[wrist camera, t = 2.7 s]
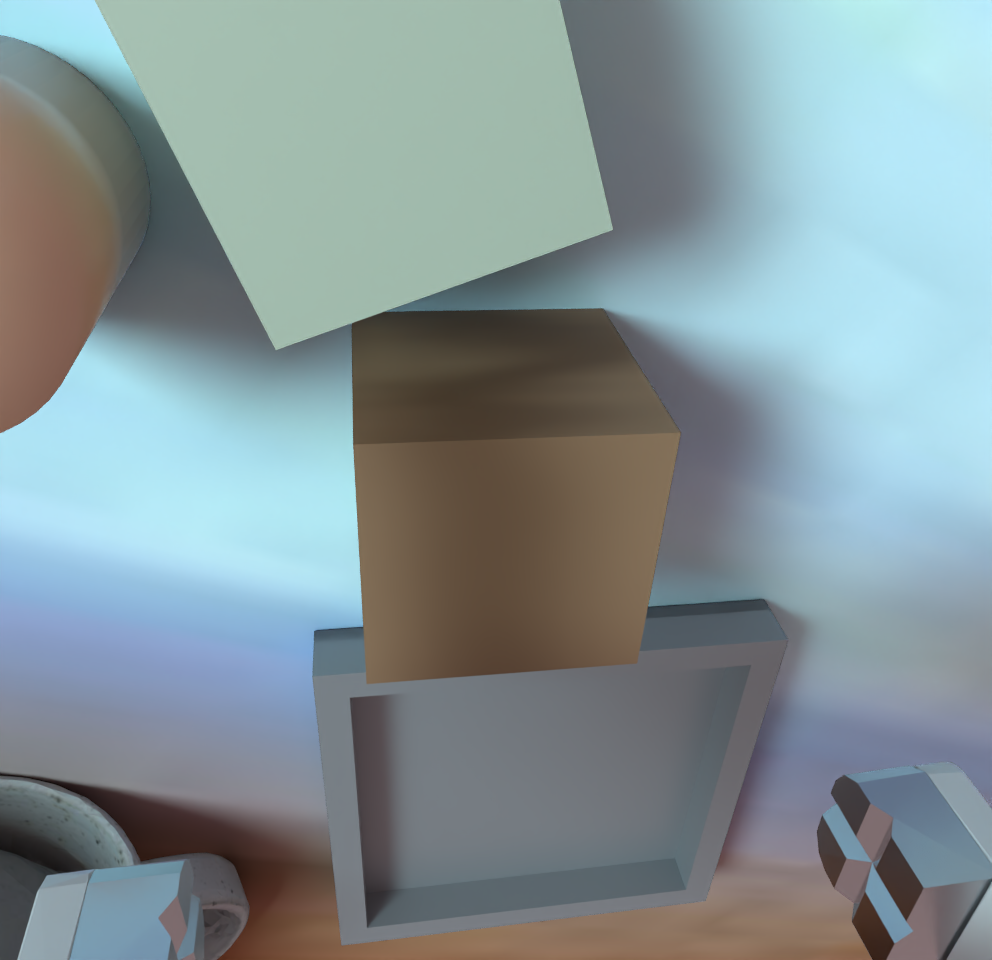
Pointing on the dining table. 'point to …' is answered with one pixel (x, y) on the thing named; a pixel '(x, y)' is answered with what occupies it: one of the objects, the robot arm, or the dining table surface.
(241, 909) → the ceramic mug
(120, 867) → the robot arm
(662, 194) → the dining table surface
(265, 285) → the green block
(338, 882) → the tray
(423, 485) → the walnut block
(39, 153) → the terracotta cylinder
